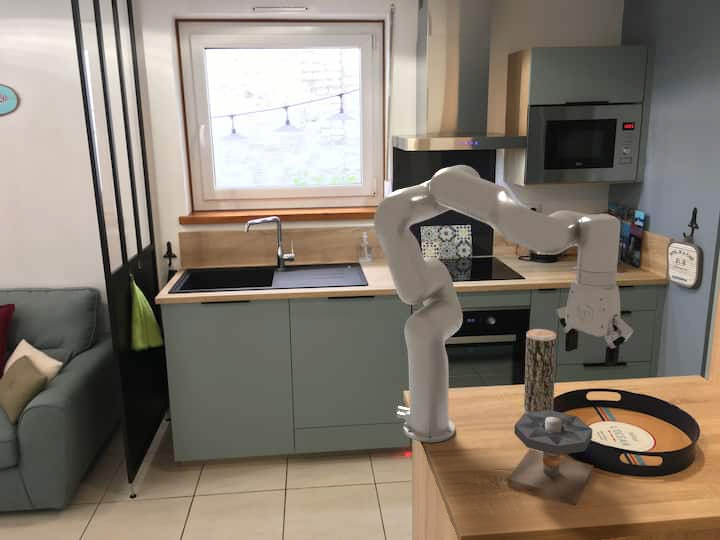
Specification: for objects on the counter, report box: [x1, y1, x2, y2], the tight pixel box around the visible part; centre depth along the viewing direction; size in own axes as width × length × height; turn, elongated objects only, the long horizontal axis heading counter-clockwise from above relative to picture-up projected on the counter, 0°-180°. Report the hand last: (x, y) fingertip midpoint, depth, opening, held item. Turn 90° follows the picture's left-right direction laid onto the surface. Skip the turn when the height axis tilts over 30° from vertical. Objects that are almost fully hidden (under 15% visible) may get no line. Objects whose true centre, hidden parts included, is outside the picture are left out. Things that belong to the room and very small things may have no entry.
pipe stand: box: [507, 417, 594, 506], centre depth 134 cm, size 14×14×14 cm
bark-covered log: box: [523, 328, 557, 414], centre depth 153 cm, size 7×7×25 cm
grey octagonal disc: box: [514, 410, 593, 456], centre depth 133 cm, size 14×14×2 cm
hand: (590, 357), depth 132 cm, fingers open, 9 cm apart
